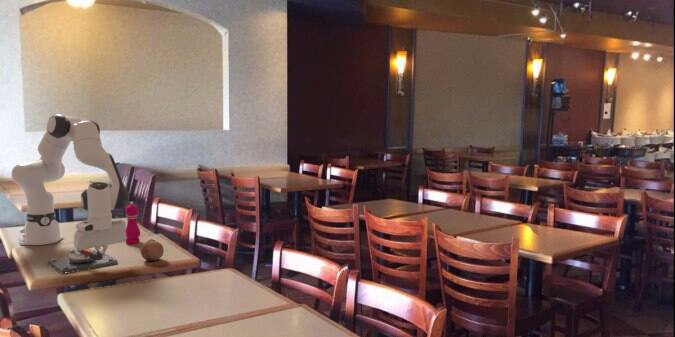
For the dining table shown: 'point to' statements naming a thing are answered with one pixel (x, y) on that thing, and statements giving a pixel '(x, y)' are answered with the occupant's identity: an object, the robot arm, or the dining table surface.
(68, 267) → the flange plate
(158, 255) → the onion
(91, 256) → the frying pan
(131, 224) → the pepper mill
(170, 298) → the dining table surface
